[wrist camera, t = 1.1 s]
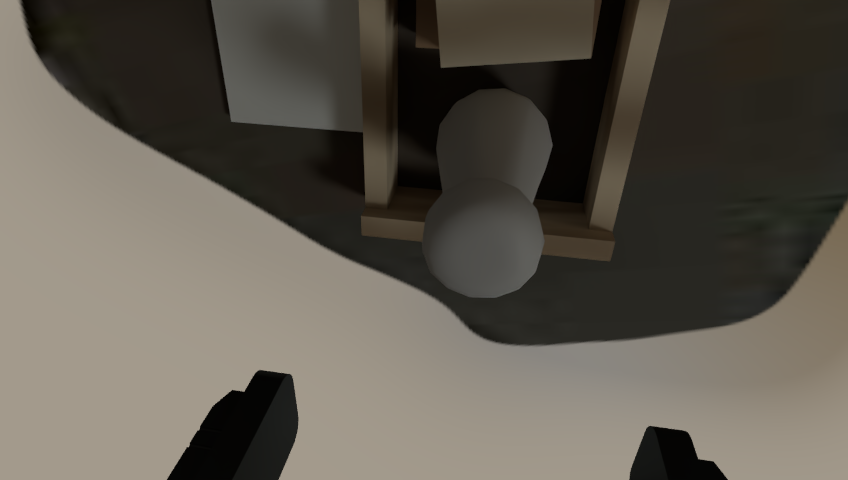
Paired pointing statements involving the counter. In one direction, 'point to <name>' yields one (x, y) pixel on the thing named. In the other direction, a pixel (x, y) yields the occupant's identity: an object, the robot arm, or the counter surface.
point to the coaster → (291, 62)
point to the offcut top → (513, 31)
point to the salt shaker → (488, 194)
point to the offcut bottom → (429, 25)
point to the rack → (561, 221)
